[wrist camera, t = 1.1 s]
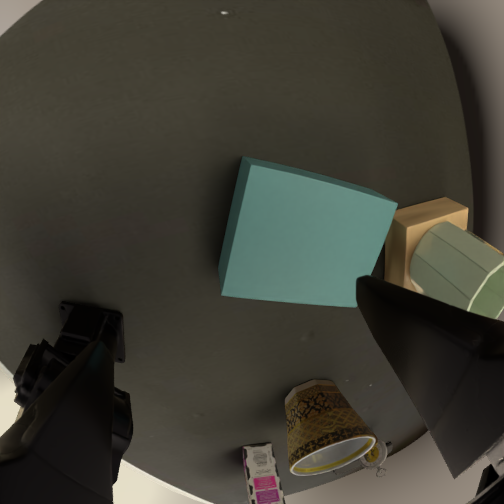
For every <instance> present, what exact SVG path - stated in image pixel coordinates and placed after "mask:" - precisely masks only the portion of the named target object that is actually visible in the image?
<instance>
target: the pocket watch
mask: <svg viewBox="0 0 504 504" xmlns="http://www.w3.org/2000/svg"><path fill="white" fill-rule="evenodd" d="M376 448H377V449H376ZM374 449H375V450H374ZM374 449H370V450H369V451H368V452H367V453H365V454H364V455H363V456H361V457H360V458H359V461H360V463H361V465H362V466H363V467H365V468H366V469H375V468H378V471H377V473H378V472H380V473H381V471H382V470H385V471H386V473H387V470H386V469H382V468H380V467H379V466H380V465H381V464H383V462H384V461H385V459H386V456H387V447H386V445H385V443H384V442H383V441H382V440H380V439H378V444H377V446H376V447H374ZM373 450H374V451H373ZM372 451H373V452H372ZM367 454H369V456H368V457H369V458H368V457H367ZM371 455H372V456H371ZM369 459H370V460H369ZM377 473H376V476H377V477H382V476H378V475H377ZM386 473H385V474H386ZM385 474H384V475H385ZM384 475H383V476H384Z"/></svg>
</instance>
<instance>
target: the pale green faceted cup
mask: <svg viewBox="0 0 504 504" xmlns="http://www.w3.org/2000/svg"><path fill="white" fill-rule="evenodd" d="M410 279H411V282H412V284H413V285H414V286H415V288H416V291H417V292H418V293H420V294H423V295H426V296H428V297H431V298H434V299H437V300H439V301H442V302H445V303H447V304H449V305H453V306H456V307H458V308H461V309H464V310H467V311H470V312H472V313H476V314H479V315H482V316H486V317H489V318H493V319H497V317H498V316H499V315H500V313H501V312H502V310H503V309H504V254H503V253H502V252H501V251H499V250H498V249H496V248H495V247H493V246H492V245H490V244H488V243H487V242H485V241H484V240H482V239H480V238H479V237H477V236H476V235H474V234H473V233H471V232H469V231H468V230H466V229H464V228H463V227H461V226H459V225H456V224H454V223H452V222H449V221H446V222H441V223H439V224H437V225H435V226H434V227H432V228H431V229H430V230H429V231H428V232H427V233H426V234H425V235H424V236H423V237H422V239H421V240H420V242H419V243H418V245H417V247H416V249H415V251H414V253H413V256H412V259H411V263H410Z"/></svg>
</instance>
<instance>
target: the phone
mask: <svg viewBox="0 0 504 504" xmlns="http://www.w3.org/2000/svg"><path fill="white" fill-rule="evenodd" d="M392 446H393V445H392V443H390V444H387V445H386V447H387V454H388V453H390V452H391V450H392ZM372 452H373V451H372ZM368 456H369V454H367V457H368ZM371 456H372V455H371ZM368 458H369V457H368ZM369 460H370V459H369ZM360 466H362V465H361V463H360V461H359V458H358V459H356V460H355V461H353V462H351V463H349V464H347V465H345V466H342V467H340V468H337V469H334V471H335V474H336V475H339V474H342V473H345V472H347V471H350V470H352V469H355V468H357V467H360Z"/></svg>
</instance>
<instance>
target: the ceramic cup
mask: <svg viewBox="0 0 504 504" xmlns="http://www.w3.org/2000/svg"><path fill="white" fill-rule="evenodd" d="M285 409H286V421H287V433H288V459H289V466H290V471H291V473H293V474H295V475H302V476H305V475H315V474H320V473H325V472H328V471H331V470H334V469H337V468H340V467H342V466H345V465H347V464H349V463H351V462H353V461H355V460H356V459H358V458H360V457H361V456H363V455H364V454H365V453H367V452H368V451H369V450H370V449H373V448H374V447H376V446H377V444H378V439H377V437H376V435H375V434H374V433H373V432H371V430H370V429H369V428H368V426H367V425H366V424H365V422H364V421H363V420H362V418H361V417H360V416H359V415H358V414H357V413H356V412H355V411H354V410H353V408H352V407H351V406H350V404H349V403H348V401H347V400H346V399H345V398H344V396H343V395H342V394H341V392H340V391H339V389H338V388H337V387H336V385H335V384H334V383H333V382H332V381H330V380H319V379H313V380H311V381H309V382H306V383H304V384H301V385H299V386H296V387H294V388H293V389H292V391H291V392H290V393H289V394H288V396H287V397H286V398H285Z"/></svg>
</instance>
